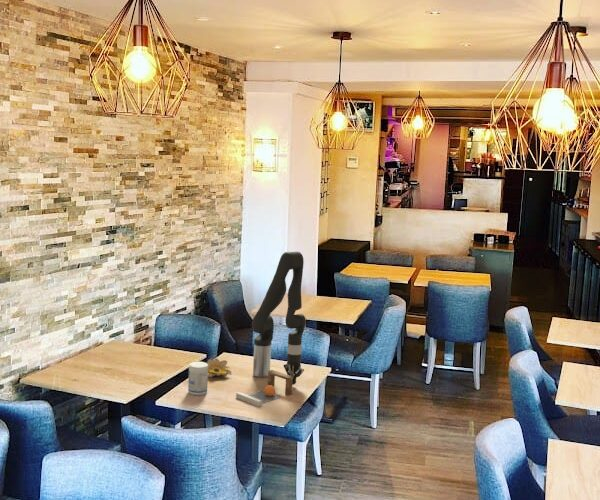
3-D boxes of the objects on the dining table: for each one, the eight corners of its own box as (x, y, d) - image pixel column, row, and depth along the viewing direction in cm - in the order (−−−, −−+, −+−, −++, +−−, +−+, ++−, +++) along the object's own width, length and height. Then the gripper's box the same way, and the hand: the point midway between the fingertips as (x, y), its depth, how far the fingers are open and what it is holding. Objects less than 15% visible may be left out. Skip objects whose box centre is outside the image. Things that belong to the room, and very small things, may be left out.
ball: (269, 399, 349) (263, 396, 344) (266, 389, 352) (261, 386, 348) (278, 394, 347) (272, 391, 343) (275, 385, 350) (270, 381, 346)
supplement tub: (184, 392, 348) (184, 364, 346) (198, 387, 355) (199, 360, 353) (197, 397, 342) (197, 368, 340) (211, 392, 349) (212, 364, 347)
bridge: (288, 395, 349) (288, 378, 348) (267, 388, 359) (268, 371, 357) (292, 394, 351) (292, 376, 350) (271, 386, 361) (272, 369, 360)
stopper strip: (258, 406, 333) (259, 401, 332) (236, 397, 343) (236, 392, 343) (261, 405, 334) (261, 400, 334) (239, 396, 345) (239, 391, 344)
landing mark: (261, 404, 336) (261, 403, 336) (243, 396, 345) (243, 396, 345) (280, 397, 346) (280, 397, 346) (261, 390, 355) (261, 390, 355)
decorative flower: (205, 378, 365) (205, 359, 366) (199, 376, 375) (200, 358, 376) (232, 378, 370) (233, 359, 371) (226, 376, 381) (227, 358, 382)
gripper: (308, 353, 358) (307, 385, 361) (289, 347, 367) (288, 379, 369) (299, 356, 353) (297, 389, 355) (280, 350, 361) (278, 382, 364)
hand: (293, 384), depth 362 cm, fingers closed
